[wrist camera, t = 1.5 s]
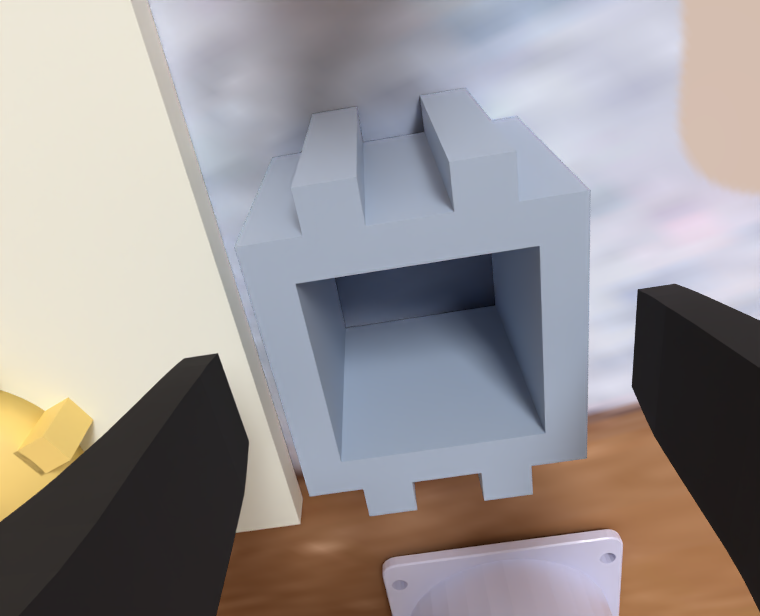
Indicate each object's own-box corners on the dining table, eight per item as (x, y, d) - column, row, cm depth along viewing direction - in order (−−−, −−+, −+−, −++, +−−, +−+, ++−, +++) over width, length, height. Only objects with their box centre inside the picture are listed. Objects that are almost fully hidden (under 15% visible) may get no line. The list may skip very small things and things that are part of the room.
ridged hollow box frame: (528, 350, 17) (586, 486, 13) (328, 380, 17) (317, 523, 13) (515, 79, 13) (591, 139, 9) (263, 122, 14) (219, 199, 9)
